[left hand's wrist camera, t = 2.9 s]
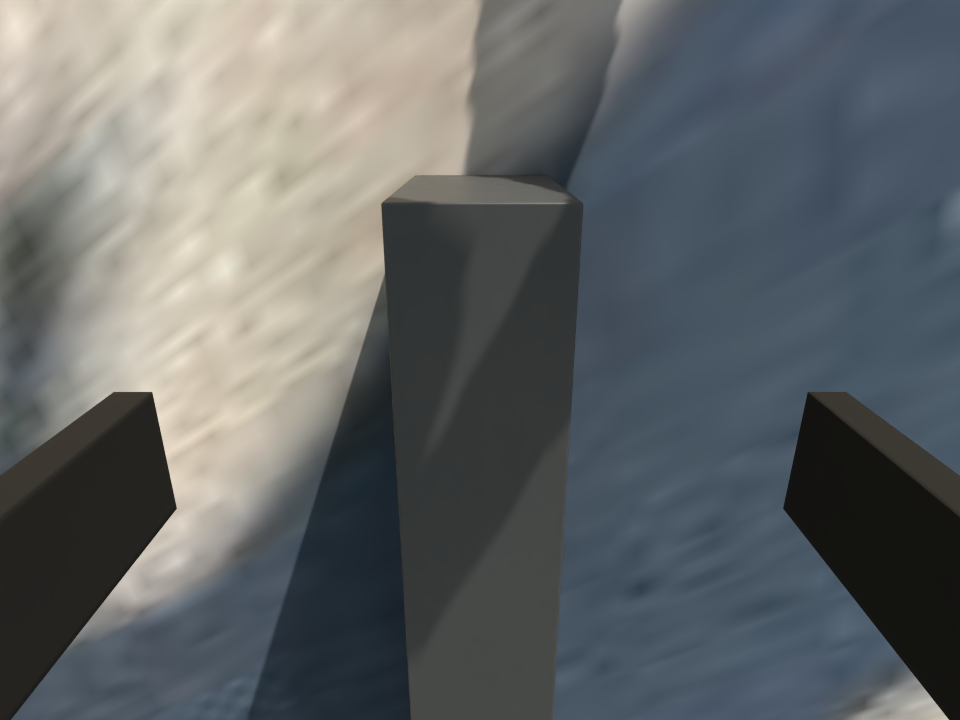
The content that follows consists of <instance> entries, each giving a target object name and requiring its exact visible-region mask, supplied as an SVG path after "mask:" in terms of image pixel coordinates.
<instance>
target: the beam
mask: <svg viewBox="0 0 960 720" xmlns="http://www.w3.org/2000/svg"><path fill="white" fill-rule="evenodd" d="M381 207H382V225H383V243H384V260H385V278H386V296H387V313H388V331H389V349H390V366H391V384H392V402H393V419H394V437H395V455H396V473H397V490H398V508H399V526H400V543H401V561H402V579H403V596H404V614H405V632H406V649H407V667H408V685H409V702H410V720H553V705H554V688H555V672H556V655H557V638H558V621H559V604H560V587H561V570H562V553H563V537H564V520H565V503H566V486H567V469H568V452H569V435H570V418H571V401H572V385H573V368H574V351H575V334H576V317H577V300H578V283H579V266H580V249H581V232H582V216H583V203H582V202H581V201H579V200H578V199H577V198H576V197H574V196H573V195H572V194H571V193H569V192H568V191H567V190H565V189H564V188H563V187H562V186H560V185H559V184H558V183H557V182H555V181H554V180H553V179H551V178H550V177H549V176H517V175H416V176H414V177H413V178H412V179H411V180H409V181H408V182H407V183H406V184H404V185H403V186H402V187H401V188H400V189H398V190H397V191H396V192H395V193H393V194H392V195H391V196H390V197H389V198H387V199H386V200H385V201H384V202H382V204H381Z"/></svg>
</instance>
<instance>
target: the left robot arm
mask: <svg viewBox="0 0 960 720" xmlns="http://www.w3.org/2000/svg"><path fill="white" fill-rule="evenodd" d="M176 509H177V508H176V503H175V498H174V493H173V489H172V484H171V479H170V474H169V470H168V465H167V460H166V455H165V451H164V446H163V441H162V436H161V432H160V427H159V422H158V418H157V413H156V408H155V403H154V399H153V394H152V392H113V393H112V394H111V395H109V396H108V397H107V398H105V399H104V400H103V401H101V402H100V403H98V404H97V405H96V406H94V407H93V408H92V409H90V410H89V411H88V412H86V413H85V414H83V415H82V416H81V417H79V418H78V419H77V420H75V421H74V422H73V423H71V424H70V425H69V426H67V427H66V428H64V429H63V430H62V431H60V432H59V433H58V434H56V435H55V436H54V437H52V438H51V439H50V440H48V441H47V442H45V443H44V444H43V445H41V446H40V447H39V448H37V449H36V450H35V451H33V452H32V453H31V454H29V455H28V456H26V457H25V458H24V459H22V460H21V461H20V462H18V463H17V464H16V465H14V466H13V467H12V468H10V469H9V470H7V471H6V472H5V473H3V474H2V475H1V476H0V720H11V719H12V718H13V716H14V715H15V714H16V712H17V711H18V710H19V709H20V707H21V706H22V705H23V704H24V702H25V701H26V700H27V698H28V697H29V696H30V695H31V693H32V692H33V691H34V690H35V688H36V687H37V686H38V684H39V683H40V682H41V681H42V679H43V678H44V677H45V676H46V674H47V673H48V672H49V670H50V669H51V668H52V667H53V665H54V664H55V663H56V662H57V660H58V659H59V658H60V656H61V655H62V654H63V653H64V651H65V650H66V649H67V648H68V646H69V645H70V644H71V642H72V641H73V640H74V639H75V637H76V636H77V635H78V634H79V632H80V631H81V630H82V628H83V627H84V626H85V625H86V623H87V622H88V621H89V620H90V618H91V617H92V616H93V614H94V613H95V612H96V611H97V609H98V608H99V607H100V606H101V604H102V603H103V602H104V600H105V599H106V598H107V597H108V595H109V594H110V593H111V592H112V590H113V589H114V588H115V586H116V585H117V584H118V583H119V581H120V580H121V579H122V578H123V576H124V575H125V574H126V572H127V571H128V570H129V569H130V567H131V566H132V565H133V564H134V562H135V561H136V560H137V558H138V557H139V556H140V555H141V553H142V552H143V551H144V550H145V548H146V547H147V546H148V544H149V543H150V542H151V541H152V539H153V538H154V537H155V536H156V534H157V533H158V532H159V530H160V529H161V528H162V527H163V525H164V524H165V523H166V522H167V520H168V519H169V518H170V516H171V515H172V514H173V513H174V511H175V510H176ZM783 509H784V510H785V511H786V513H787V514H788V515H789V516H790V518H791V519H792V520H793V522H794V523H795V524H796V525H797V527H798V528H799V529H800V530H801V532H802V533H803V534H804V536H805V537H806V538H807V539H808V541H809V542H810V543H811V544H812V546H813V547H814V548H815V550H816V551H817V552H818V553H819V555H820V556H821V557H822V558H823V560H824V561H825V562H826V564H827V565H828V566H829V567H830V569H831V570H832V571H833V572H834V574H835V575H836V576H837V578H838V579H839V580H840V581H841V583H842V584H843V585H844V586H845V588H846V589H847V590H848V592H849V593H850V594H851V595H852V597H853V598H854V599H855V600H856V602H857V603H858V604H859V606H860V607H861V608H862V609H863V611H864V612H865V613H866V614H867V616H868V617H869V618H870V620H871V621H872V622H873V623H874V625H875V626H876V627H877V628H878V630H879V631H880V632H881V634H882V635H883V636H884V637H885V639H886V640H887V641H888V642H889V644H890V645H891V646H892V648H893V649H894V650H895V651H896V653H897V654H898V655H899V656H900V658H901V659H902V660H903V662H904V663H905V664H906V665H907V667H908V668H909V669H910V670H911V672H912V673H913V674H914V676H915V677H916V678H917V679H918V681H919V682H920V683H921V684H922V686H923V687H924V688H925V690H926V691H927V692H928V693H929V695H930V696H931V697H932V698H933V700H934V701H935V702H936V704H937V705H938V706H939V707H940V709H941V710H942V711H943V712H944V714H945V715H946V716H947V718H948V719H949V720H960V476H959V475H958V474H957V473H955V472H954V471H953V470H951V469H950V468H948V467H947V466H946V465H944V464H943V463H942V462H940V461H939V460H938V459H936V458H935V457H934V456H932V455H931V454H929V453H928V452H927V451H925V450H924V449H923V448H921V447H920V446H919V445H917V444H916V443H915V442H913V441H912V440H910V439H909V438H908V437H906V436H905V435H904V434H902V433H901V432H900V431H898V430H897V429H896V428H894V427H893V426H891V425H890V424H889V423H887V422H886V421H885V420H883V419H882V418H881V417H879V416H878V415H877V414H875V413H874V412H872V411H871V410H870V409H868V408H867V407H866V406H864V405H863V404H862V403H860V402H859V401H857V400H856V399H855V398H853V397H852V396H851V395H849V394H848V393H847V392H808V394H807V399H806V403H805V408H804V413H803V418H802V422H801V427H800V432H799V436H798V441H797V446H796V451H795V455H794V460H793V465H792V470H791V474H790V479H789V484H788V489H787V493H786V498H785V503H784V508H783Z"/></svg>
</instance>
